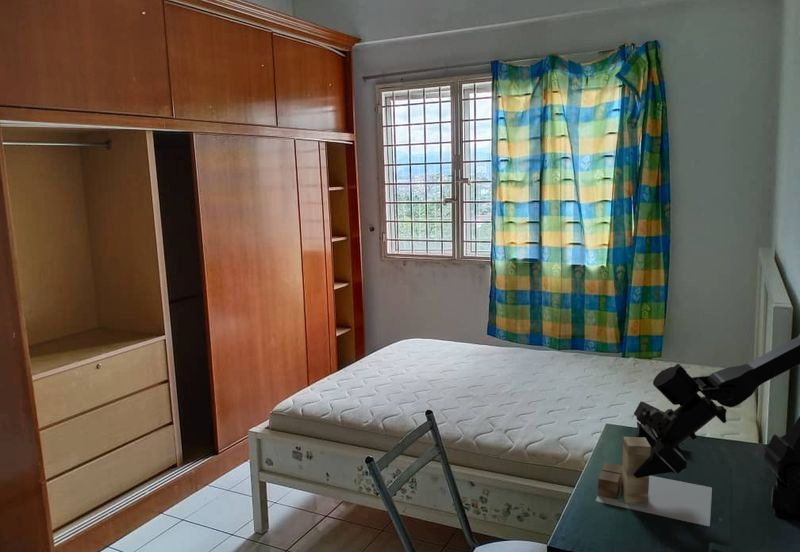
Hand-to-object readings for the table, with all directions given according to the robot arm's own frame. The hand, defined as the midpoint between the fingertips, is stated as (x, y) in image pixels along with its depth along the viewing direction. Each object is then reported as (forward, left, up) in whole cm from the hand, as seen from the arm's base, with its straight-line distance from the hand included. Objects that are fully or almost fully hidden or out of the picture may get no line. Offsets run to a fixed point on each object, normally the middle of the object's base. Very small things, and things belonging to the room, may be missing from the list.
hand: (630, 465), depth 133 cm
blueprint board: (-5, -4, -8) cm, 11 cm away
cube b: (+4, -5, -7) cm, 10 cm away
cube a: (+4, 0, -7) cm, 9 cm away
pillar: (-1, 0, -7) cm, 8 cm away
